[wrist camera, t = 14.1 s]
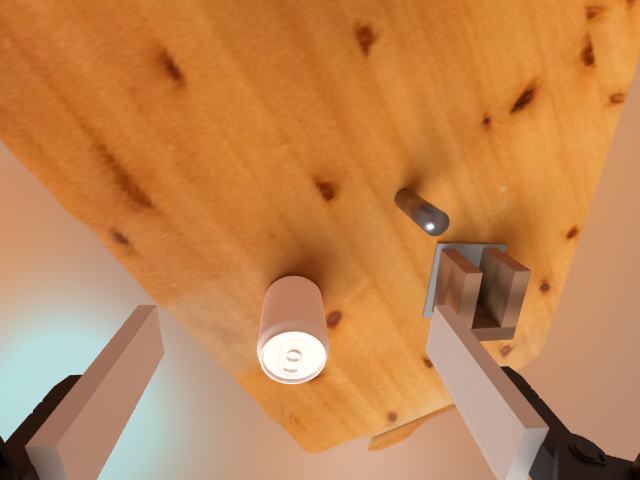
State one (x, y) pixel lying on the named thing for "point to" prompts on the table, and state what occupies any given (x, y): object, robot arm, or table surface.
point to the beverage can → (293, 331)
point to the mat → (465, 249)
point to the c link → (483, 291)
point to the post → (422, 212)
